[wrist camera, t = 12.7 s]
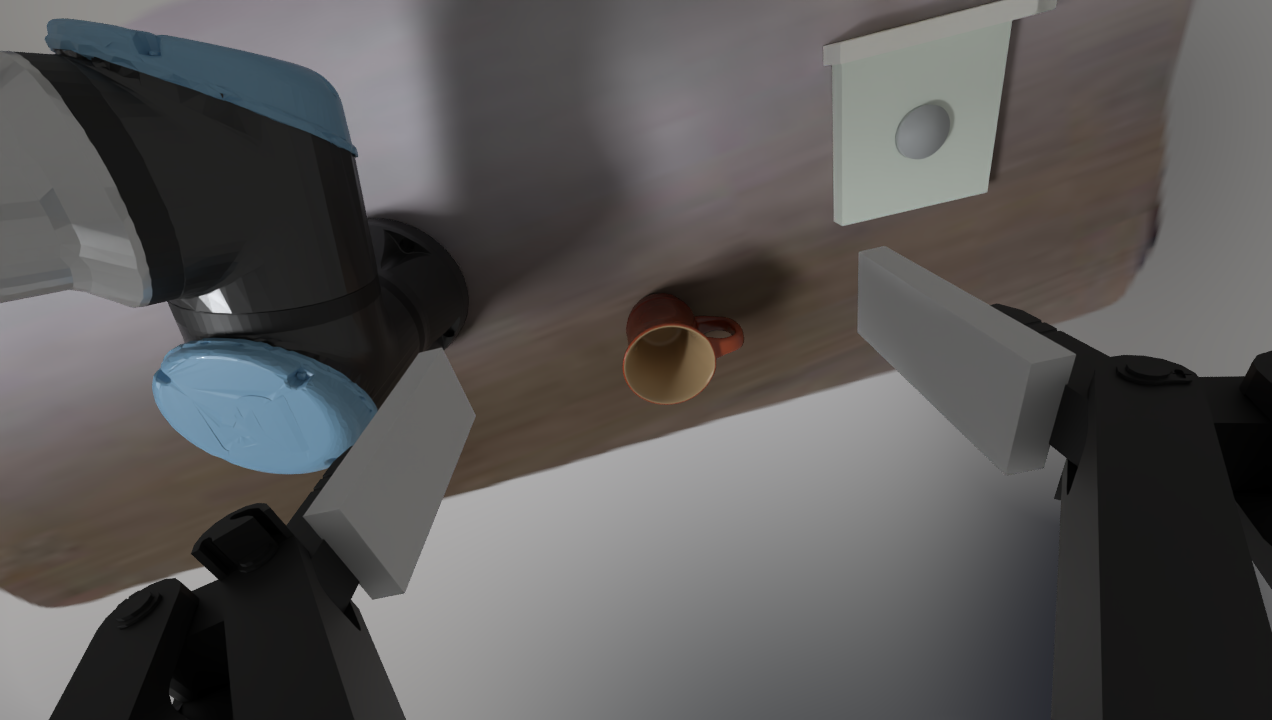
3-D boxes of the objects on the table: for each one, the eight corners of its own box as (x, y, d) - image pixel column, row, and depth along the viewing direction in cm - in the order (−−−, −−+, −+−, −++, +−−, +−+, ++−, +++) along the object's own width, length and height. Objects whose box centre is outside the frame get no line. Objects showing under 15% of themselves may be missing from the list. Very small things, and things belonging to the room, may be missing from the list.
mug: (631, 362, 56) (636, 414, 47) (610, 295, 51) (611, 338, 42) (732, 336, 55) (756, 384, 46) (719, 265, 50) (743, 303, 41)
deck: (826, 222, 48) (841, 231, 45) (818, -173, 34) (839, -199, 31) (996, 183, 47) (1022, 189, 44) (1061, -243, 33) (1107, -277, 30)
